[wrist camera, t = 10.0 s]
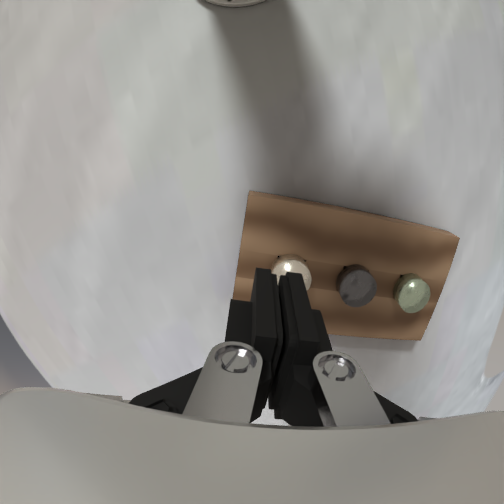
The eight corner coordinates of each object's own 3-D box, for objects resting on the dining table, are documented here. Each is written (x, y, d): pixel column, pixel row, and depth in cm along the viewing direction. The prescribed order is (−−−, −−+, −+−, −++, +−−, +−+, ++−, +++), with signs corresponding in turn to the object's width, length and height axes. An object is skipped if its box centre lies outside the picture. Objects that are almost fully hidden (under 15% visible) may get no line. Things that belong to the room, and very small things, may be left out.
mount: (249, 190, 36) (248, 194, 33) (448, 231, 37) (459, 238, 34) (231, 309, 41) (229, 321, 39) (413, 329, 42) (420, 340, 39)
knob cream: (273, 243, 38) (275, 259, 33) (308, 248, 38) (315, 265, 33) (266, 276, 39) (267, 296, 34) (300, 281, 39) (306, 301, 34)
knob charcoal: (335, 253, 38) (346, 270, 33) (367, 258, 38) (381, 275, 33) (327, 285, 39) (336, 305, 34) (358, 289, 40) (370, 309, 35)
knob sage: (391, 262, 38) (407, 279, 33) (417, 267, 38) (435, 283, 33) (381, 292, 40) (395, 311, 35) (407, 295, 40) (423, 314, 35)
